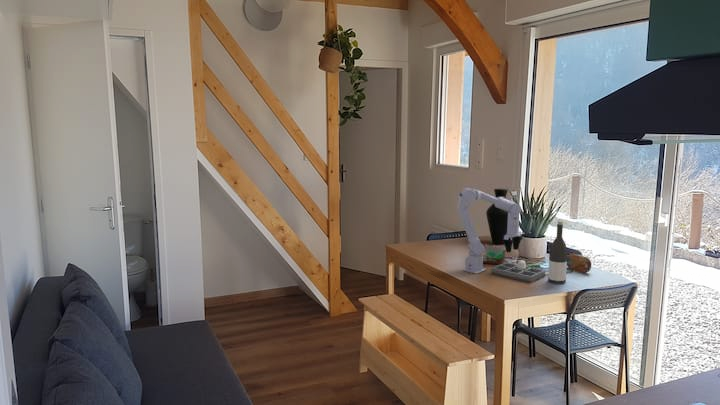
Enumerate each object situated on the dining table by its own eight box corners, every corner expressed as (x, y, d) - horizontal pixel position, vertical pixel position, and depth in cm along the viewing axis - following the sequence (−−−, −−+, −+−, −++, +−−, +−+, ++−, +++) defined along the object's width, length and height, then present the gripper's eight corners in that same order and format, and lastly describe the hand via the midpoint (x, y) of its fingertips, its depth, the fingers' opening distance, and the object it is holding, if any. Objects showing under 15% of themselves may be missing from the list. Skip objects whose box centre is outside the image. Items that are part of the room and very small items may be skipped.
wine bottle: (556, 285, 243) (560, 223, 239) (544, 280, 251) (547, 220, 246) (569, 282, 246) (573, 222, 242) (556, 278, 254) (560, 219, 249)
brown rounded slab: (564, 267, 273) (565, 252, 272) (569, 266, 274) (570, 251, 273) (587, 274, 259) (588, 258, 258) (591, 274, 261) (592, 258, 259)
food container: (481, 263, 281) (482, 245, 280) (484, 260, 287) (485, 243, 285) (504, 266, 276) (504, 248, 274) (506, 263, 281) (507, 245, 280)
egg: (523, 273, 259) (523, 261, 258) (515, 271, 262) (516, 260, 261) (526, 271, 262) (527, 260, 261) (519, 270, 265) (520, 258, 264)
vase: (485, 245, 321) (487, 191, 316) (485, 239, 338) (486, 187, 332) (513, 247, 317) (516, 191, 312) (511, 240, 334) (514, 188, 328)
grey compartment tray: (531, 282, 247) (531, 276, 246) (491, 273, 262) (491, 268, 262) (545, 276, 257) (545, 270, 257) (505, 267, 273) (505, 262, 272)
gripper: (513, 228, 257) (512, 254, 259) (526, 224, 267) (525, 249, 269) (500, 226, 262) (499, 252, 264) (514, 222, 272) (513, 247, 274)
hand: (512, 250), depth 267 cm, fingers open, 7 cm apart
